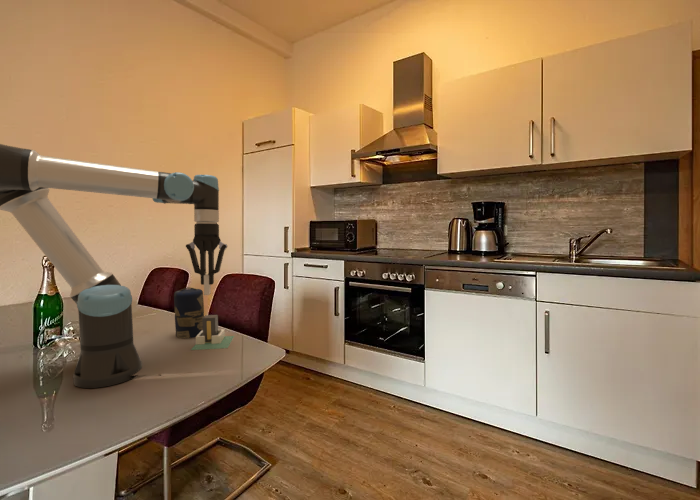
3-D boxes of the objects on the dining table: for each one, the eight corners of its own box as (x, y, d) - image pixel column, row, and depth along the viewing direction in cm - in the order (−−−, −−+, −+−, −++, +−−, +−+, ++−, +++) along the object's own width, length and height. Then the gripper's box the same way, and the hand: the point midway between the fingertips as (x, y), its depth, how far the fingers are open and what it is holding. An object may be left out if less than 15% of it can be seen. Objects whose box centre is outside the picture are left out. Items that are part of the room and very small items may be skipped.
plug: (215, 341, 121) (214, 318, 121) (202, 342, 120) (202, 318, 120) (218, 337, 125) (217, 314, 125) (206, 338, 125) (205, 315, 124)
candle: (197, 341, 125) (196, 289, 124) (170, 342, 126) (168, 289, 124) (209, 333, 135) (207, 285, 134) (183, 333, 135) (181, 285, 134)
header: (220, 343, 120) (220, 335, 120) (195, 344, 119) (195, 337, 119) (224, 336, 127) (224, 329, 127) (201, 337, 126) (201, 330, 126)
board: (227, 351, 115) (227, 348, 115) (190, 353, 114) (190, 350, 114) (234, 339, 128) (234, 335, 128) (201, 340, 127) (201, 337, 126)
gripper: (229, 223, 125) (229, 292, 126) (189, 223, 123) (190, 292, 125) (225, 223, 118) (225, 296, 119) (182, 222, 116) (183, 296, 117)
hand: (207, 294), depth 122 cm, fingers closed
